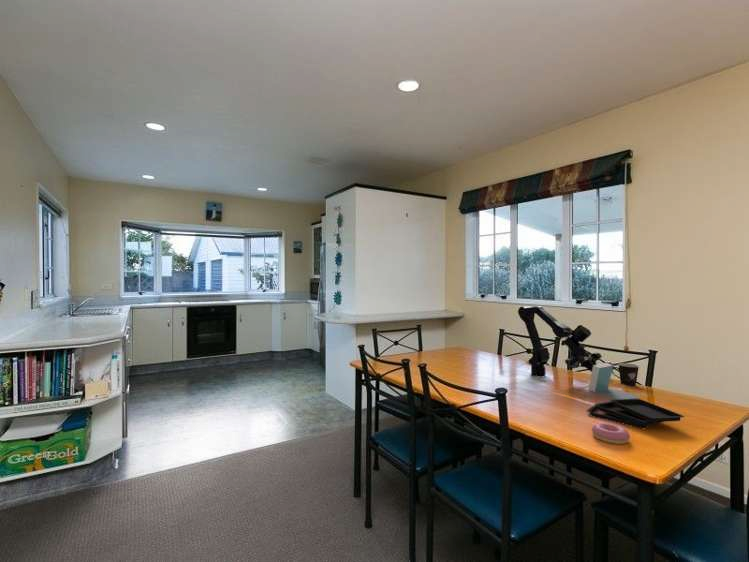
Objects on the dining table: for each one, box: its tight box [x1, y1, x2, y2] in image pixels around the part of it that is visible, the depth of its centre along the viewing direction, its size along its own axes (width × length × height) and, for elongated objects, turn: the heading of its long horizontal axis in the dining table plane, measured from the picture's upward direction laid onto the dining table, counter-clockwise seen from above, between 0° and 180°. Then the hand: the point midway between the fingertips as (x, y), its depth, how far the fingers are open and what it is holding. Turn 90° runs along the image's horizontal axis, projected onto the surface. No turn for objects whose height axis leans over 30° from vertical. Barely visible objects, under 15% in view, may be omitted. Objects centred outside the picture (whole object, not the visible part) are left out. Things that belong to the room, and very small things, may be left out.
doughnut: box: [591, 422, 631, 445], centre depth 127 cm, size 11×11×4 cm
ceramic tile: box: [588, 362, 614, 392], centre depth 178 cm, size 3×11×12 cm, turn 118°
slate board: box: [582, 387, 643, 400], centre depth 173 cm, size 18×16×1 cm
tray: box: [586, 398, 685, 429], centre depth 145 cm, size 30×23×5 cm
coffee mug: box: [611, 362, 640, 387], centre depth 192 cm, size 12×9×10 cm
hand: (597, 374), depth 179 cm, fingers closed, pressing on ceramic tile
